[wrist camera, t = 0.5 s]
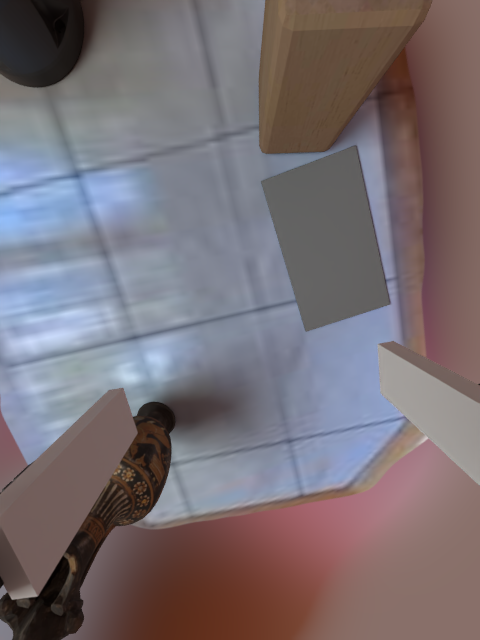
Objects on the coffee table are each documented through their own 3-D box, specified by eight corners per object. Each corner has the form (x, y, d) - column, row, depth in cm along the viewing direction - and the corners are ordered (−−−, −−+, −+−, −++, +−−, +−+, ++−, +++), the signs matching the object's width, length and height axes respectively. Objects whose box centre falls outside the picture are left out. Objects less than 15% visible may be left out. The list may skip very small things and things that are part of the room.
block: (332, 71, 32) (468, -225, 13) (328, 154, 35) (440, 9, 15) (258, 74, 33) (281, -213, 13) (259, 157, 35) (280, 16, 15)
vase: (193, 401, 43) (91, 683, 14) (175, 457, 46) (56, 793, 17) (130, 382, 43) (-117, 635, 13) (115, 439, 45) (-120, 758, 16)
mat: (261, 182, 35) (261, 181, 35) (354, 146, 34) (355, 145, 34) (305, 331, 40) (306, 331, 40) (388, 304, 39) (389, 304, 39)
